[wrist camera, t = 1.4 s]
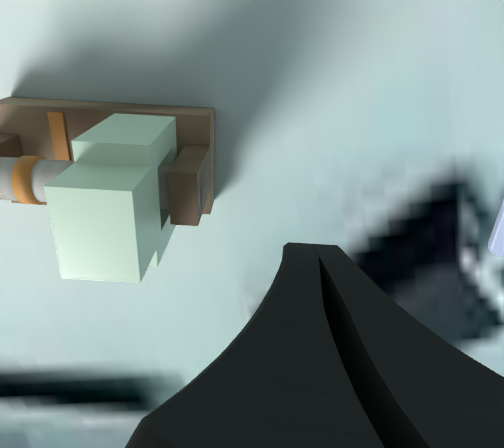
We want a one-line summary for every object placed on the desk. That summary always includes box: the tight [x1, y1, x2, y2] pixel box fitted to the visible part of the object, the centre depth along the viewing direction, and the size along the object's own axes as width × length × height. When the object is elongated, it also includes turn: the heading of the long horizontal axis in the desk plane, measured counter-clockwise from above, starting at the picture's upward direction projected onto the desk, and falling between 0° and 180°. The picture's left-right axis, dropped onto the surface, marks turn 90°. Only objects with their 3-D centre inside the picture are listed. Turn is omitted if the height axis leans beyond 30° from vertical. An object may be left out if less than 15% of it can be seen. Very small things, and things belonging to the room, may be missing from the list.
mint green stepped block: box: [44, 113, 177, 283], centre depth 14 cm, size 2×4×6 cm, turn 178°
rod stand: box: [0, 97, 215, 226], centre depth 17 cm, size 9×4×5 cm, turn 88°
